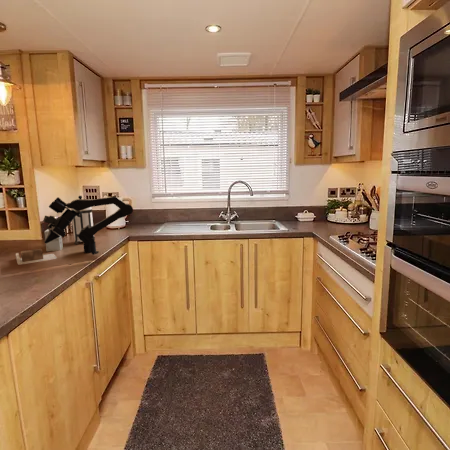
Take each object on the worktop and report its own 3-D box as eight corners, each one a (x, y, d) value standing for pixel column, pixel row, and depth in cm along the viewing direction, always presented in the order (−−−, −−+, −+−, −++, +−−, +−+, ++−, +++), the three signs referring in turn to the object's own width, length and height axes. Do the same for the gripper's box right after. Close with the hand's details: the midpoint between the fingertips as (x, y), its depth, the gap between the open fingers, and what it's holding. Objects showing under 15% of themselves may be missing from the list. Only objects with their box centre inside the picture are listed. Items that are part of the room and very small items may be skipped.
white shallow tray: (53, 255, 174) (52, 248, 173) (57, 260, 164) (56, 252, 163) (16, 261, 164) (15, 253, 164) (18, 267, 154) (17, 258, 153)
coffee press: (65, 244, 202) (59, 196, 197) (86, 238, 216) (82, 194, 211) (83, 246, 194) (78, 196, 189) (104, 241, 208) (100, 194, 203)
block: (41, 248, 166) (20, 251, 161) (42, 250, 163) (21, 253, 158) (42, 257, 167) (21, 260, 162) (43, 258, 164) (22, 262, 158)
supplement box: (46, 253, 179) (43, 231, 177) (49, 250, 186) (47, 229, 184) (60, 252, 181) (58, 230, 179) (63, 249, 188) (61, 228, 186)
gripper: (49, 208, 173) (28, 231, 168) (55, 211, 158) (32, 236, 153) (67, 220, 178) (47, 243, 174) (74, 224, 163) (53, 249, 159)
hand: (45, 242), depth 165 cm, fingers closed
